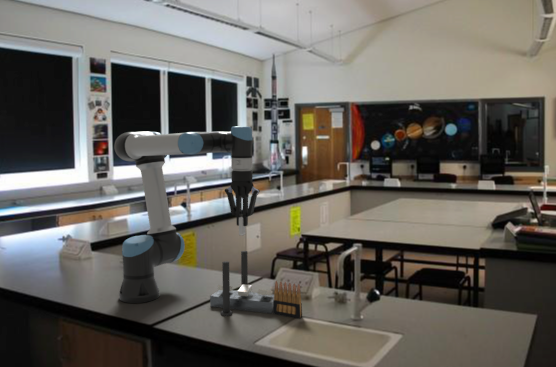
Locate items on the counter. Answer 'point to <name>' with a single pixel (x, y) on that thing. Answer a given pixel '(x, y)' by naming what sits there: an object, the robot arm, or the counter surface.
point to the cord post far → (244, 268)
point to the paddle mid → (244, 290)
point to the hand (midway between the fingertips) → (242, 234)
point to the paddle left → (220, 287)
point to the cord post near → (226, 290)
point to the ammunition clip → (287, 301)
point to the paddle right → (265, 292)
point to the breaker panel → (244, 301)
